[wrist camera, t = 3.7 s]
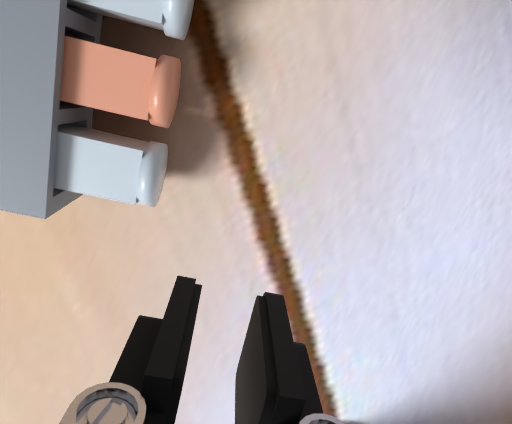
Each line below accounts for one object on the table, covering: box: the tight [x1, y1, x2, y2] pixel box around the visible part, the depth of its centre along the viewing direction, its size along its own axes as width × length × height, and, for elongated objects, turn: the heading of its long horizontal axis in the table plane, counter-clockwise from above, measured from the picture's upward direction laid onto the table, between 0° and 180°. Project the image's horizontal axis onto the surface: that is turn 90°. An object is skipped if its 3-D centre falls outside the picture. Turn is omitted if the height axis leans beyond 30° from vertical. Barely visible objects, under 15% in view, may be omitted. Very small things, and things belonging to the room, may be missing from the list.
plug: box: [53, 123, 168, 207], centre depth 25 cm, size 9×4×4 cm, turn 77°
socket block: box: [0, 0, 103, 219], centre depth 23 cm, size 9×18×6 cm, turn 167°
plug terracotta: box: [60, 36, 181, 128], centre depth 23 cm, size 9×4×4 cm, turn 77°
